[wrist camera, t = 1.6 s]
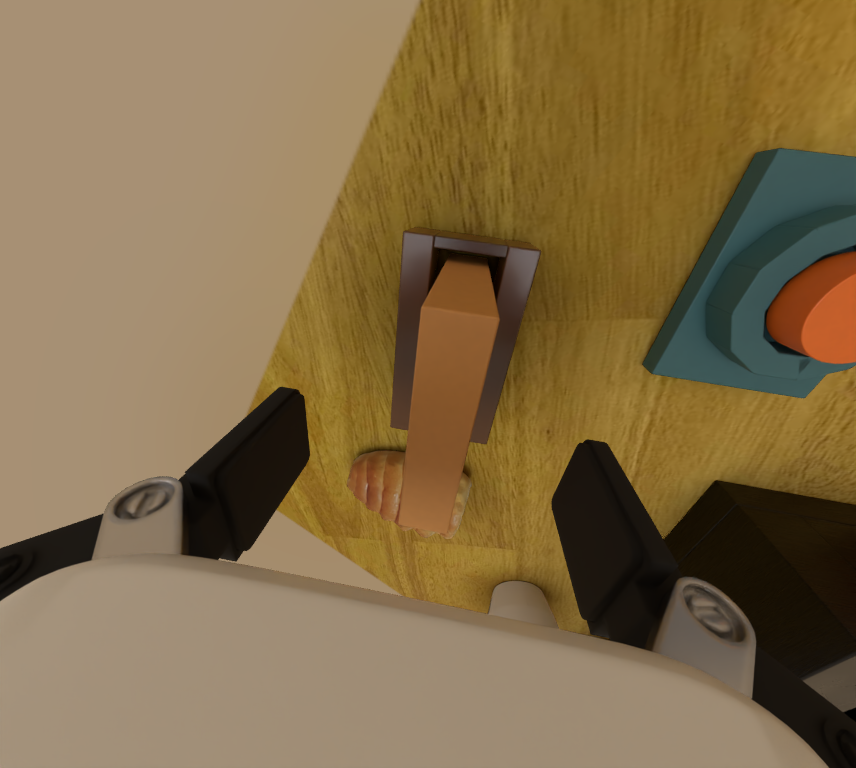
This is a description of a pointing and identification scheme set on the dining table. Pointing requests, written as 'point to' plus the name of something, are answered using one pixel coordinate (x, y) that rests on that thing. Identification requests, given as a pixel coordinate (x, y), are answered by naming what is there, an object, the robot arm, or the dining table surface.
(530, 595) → the cup
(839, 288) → the button
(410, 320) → the brown rectangular frame
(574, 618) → the dining table surface
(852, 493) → the dining table surface
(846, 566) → the toaster
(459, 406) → the toast
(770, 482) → the dining table surface
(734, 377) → the block
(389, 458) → the pastry
